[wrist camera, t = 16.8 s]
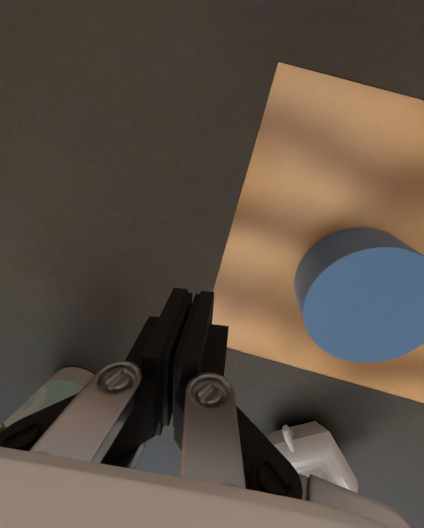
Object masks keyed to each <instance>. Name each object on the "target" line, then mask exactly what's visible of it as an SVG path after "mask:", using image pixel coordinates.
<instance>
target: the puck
mask: <svg viewBox="0 0 424 528" xmlns="http://www.w3.org/2000/svg"><path fill="white" fill-rule="evenodd" d="M294 289H295V294H296V298H297V301H298V305H299V308H300V312H301V315H302V318H303V322H304V325H305V328H306V330H307V332H308V334H309V336H310V337H311V339H312V340H313V341H314V342H315V343H316V344H317V345H318V346H319V347H320V348H321V349H323V350H324V351H325V352H327V353H329V354H330V355H332V356H335V357H337V358H340V359H343V360H346V361H351V362H359V363H374V362H382V361H387V360H391V359H394V358H398V357H400V356H403V355H405V354H407V353H409V352H411V351H413V350H415V349H416V348H418V347H420V346H421V345H422V344H424V255H422V254H421V253H419V252H418V251H416V250H415V249H413V248H412V247H410V246H408V245H407V244H405V243H404V242H402V241H401V240H399V239H398V238H396V237H395V236H393V235H392V234H389V233H387V232H385V231H382V230H378V229H374V228H363V227H359V228H350V229H345V230H341V231H338V232H335V233H333V234H331V235H328V236H327V237H325V238H323V239H322V240H320V241H319V242H317V243H316V244H315V245H314V246H312V247H311V248H310V249H309V250H308V252H307V253H306V254H305V255H304V257H303V258H302V260H301V261H300V263H299V266H298V268H297V271H296V274H295V280H294Z"/></svg>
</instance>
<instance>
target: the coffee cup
mask: <svg viewBox="0 0 424 528" xmlns="http://www.w3.org/2000/svg"><path fill="white" fill-rule="evenodd" d="M93 376H94V374H93V373H92V372H90V371H88V370H85V369H82V368H77V367H67V368H63V369H61V370H59V371H58V372H57V373H56V374H54V375H53V376H52V377H51V378H50V379H49V380H48V381H47V382H46V383H45V384H44V385H43V386H42V387H41V388H40V389H38V390H37V391H36V392H35V393H34V394H33V395H32V396H31V397H30V398H29V399H28V400H27V401H26V402H25V403H24V404H23V405H22V406H21V407H19V408H18V409H17V410H16V411H15V412H14V413H13V414H12V415H11V416H10V417H9V418H8V419H7V420H6V421H5V422H4V426H5V427H8V426H10V425H11V424H13V423H14V422H16V421H18V420H20V419H22V418H24V417H26V416H28V415H31V414H33V413H35V412H37V411H39V410H42V409H44V408H46V407H48V406H50V405H53V404H55V403H57V402H59V401H61V400H64V399H66V398H68V397H70V396H72V395H75V394H77V393H79V392H80V391H81V390H82V388H83V387H84V386H85V385H86V384H87V383H88V381H89V380H90V379H91V378H92V377H93Z"/></svg>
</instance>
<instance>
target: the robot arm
mask: <svg viewBox="0 0 424 528" xmlns="http://www.w3.org/2000/svg"><path fill="white" fill-rule="evenodd" d="M213 306H214V292H207V291H201V293H200V294H195V297H194V300H193V303H192V293H188V290H187V289H181V288H174V289H173V291H172V293H171V295H170V297H169V299H168V301H167V303H166V305H165V307H164V309H163V311H162V313H161V315H160V317H152V316H150V317H149V318H148V320H147V321H146V323H145V325H144V327H143V329H142V331H141V332H140V334H139V336H138V338H137V340H136V342H135V343H134V345H133V347H132V349H131V351H130V352H129V354H128V356H127V358H126V360H120V361H114V362H111V363H108V364H106V365H105V366H103V367H101V368H100V369H99V370H98V371H97V372H96V373H95V374H94V376H93V377H92V378H91V379H90V380H89V381H88V383H87V384H86V385H85V386H84V387H83V388H82V390H81V391H80V392H79V393H77V394H75V395H72V396H70V397H68V398H66V399H64V400H61V401H59V402H57V403H55V404H53V405H50V406H48V407H46V408H44V409H42V410H39V411H37V412H35V413H33V414H31V415H28V416H26V417H24V418H22V419H20V420H18V421H16V422H14V423H13V424H11V425H10V426H8V427H5V426H4V423H0V528H411V526H410V525H409V523H408V522H407V521H406V520H405V519H404V518H403V517H402V516H401V515H400V514H399V513H398V512H397V511H395V510H394V509H392V508H390V507H389V506H387V505H385V504H383V503H380V502H378V501H375V500H373V499H371V498H368V497H366V496H363V495H361V494H358V493H356V492H354V491H351V490H349V489H346V488H344V487H341V486H339V485H336V484H334V483H332V482H329V481H327V480H324V479H322V478H319V477H317V476H314V475H312V474H310V476H309V477H306V476H304V475H302V474H299V473H297V471H296V470H295V468H294V467H293V466H292V464H291V463H290V462H289V461H288V460H287V459H286V458H285V457H284V456H283V455H282V453H281V452H280V451H279V450H278V449H277V448H276V447H275V446H274V445H273V444H272V443H271V442H270V441H269V440H268V439H267V438H266V437H265V435H264V434H263V433H262V432H261V431H260V430H259V429H258V428H257V427H256V426H255V425H254V424H253V423H252V422H251V421H250V420H249V418H248V417H247V416H246V415H245V414H244V413H243V412H242V411H241V410H240V409H239V408H238V407H237V406H236V403H235V395H234V390H233V386H232V384H231V383H230V382H229V380H228V379H226V378H225V377H224V368H225V358H226V349H227V339H228V330H229V326H223V325H216V324H212V318H213ZM172 413H173V427H174V440H175V441H176V443H177V445H178V446H179V448H180V449H181V451H182V452H181V468H180V477H176V476H170V475H164V474H159V473H153V472H147V471H141V470H135V467H136V465H137V463H138V461H139V459H140V457H141V455H142V453H143V450H144V447H145V442H146V441H148V440H149V439H151V438H152V437H154V436H155V435H159V436H160V435H161V432H162V429H163V425H165V426H169V423H170V420H171V416H172Z"/></svg>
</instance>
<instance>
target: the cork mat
mask: <svg viewBox="0 0 424 528" xmlns="http://www.w3.org/2000/svg"><path fill="white" fill-rule="evenodd" d="M359 227H363V228H374V229H378V230H382V231H385V232H387V233H389V234H392V235H393V236H395V237H396V238H398V239H399V240H401V241H402V242H404V243H405V244H407V245H408V246H410V247H412V248H413V249H415V250H416V251H418V252H419V253H421V254H422V255H424V100H420V99H417V98H413V97H409V96H405V95H401V94H398V93H394V92H390V91H386V90H383V89H379V88H375V87H371V86H368V85H364V84H360V83H356V82H352V81H349V80H345V79H341V78H337V77H334V76H330V75H326V74H322V73H319V72H315V71H311V70H307V69H303V68H300V67H296V66H292V65H288V64H285V63H281V62H278V65H277V69H276V72H275V76H274V79H273V83H272V86H271V90H270V93H269V97H268V100H267V104H266V107H265V111H264V114H263V118H262V121H261V125H260V128H259V132H258V135H257V139H256V142H255V146H254V149H253V153H252V156H251V160H250V163H249V167H248V170H247V174H246V177H245V181H244V184H243V188H242V191H241V195H240V198H239V202H238V205H237V209H236V212H235V216H234V219H233V223H232V226H231V230H230V233H229V237H228V240H227V244H226V247H225V251H224V254H223V258H222V261H221V265H220V268H219V272H218V276H217V279H216V283H215V286H214V290H213V292H214V306H213V318H212V324H216V325H223V326H229V330H228V339H227V347H228V348H232V349H235V350H239V351H242V352H246V353H249V354H253V355H256V356H260V357H263V358H267V359H271V360H274V361H278V362H281V363H285V364H288V365H292V366H295V367H299V368H302V369H306V370H309V371H313V372H316V373H320V374H323V375H327V376H330V377H334V378H338V379H341V380H345V381H348V382H352V383H355V384H359V385H362V386H366V387H369V388H373V389H376V390H380V391H383V392H387V393H390V394H394V395H398V396H401V397H405V398H408V399H412V400H415V401H419V402H422V403H424V344H422V345H421V346H420V347H418V348H416V349H415V350H413V351H411V352H409V353H407V354H405V355H403V356H400V357H398V358H394V359H391V360H387V361H382V362H374V363H359V362H351V361H346V360H343V359H340V358H337V357H335V356H332V355H330V354H329V353H327V352H325V351H324V350H323V349H321V348H320V347H319V346H318V345H317V344H316V343H315V342H314V341H313V340H312V339H311V337H310V336H309V334H308V332H307V330H306V328H305V325H304V322H303V318H302V315H301V312H300V308H299V305H298V301H297V298H296V294H295V289H294V280H295V274H296V271H297V268H298V266H299V263H300V261H301V260H302V258H303V257H304V255H305V254H306V253H307V252H308V250H309V249H310V248H311V247H312V246H314V245H315V244H316V243H317V242H319V241H320V240H322V239H323V238H325V237H327V236H328V235H331V234H333V233H335V232H338V231H341V230H345V229H350V228H359Z"/></svg>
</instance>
